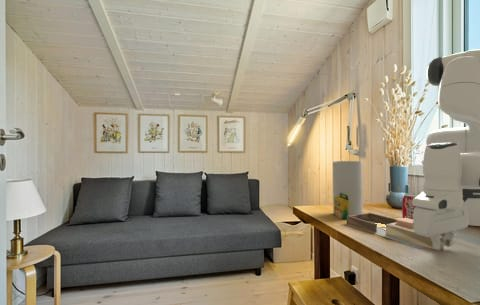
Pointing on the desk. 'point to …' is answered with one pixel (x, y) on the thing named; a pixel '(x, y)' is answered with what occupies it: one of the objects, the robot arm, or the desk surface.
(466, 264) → the desk surface
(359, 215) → the cubby
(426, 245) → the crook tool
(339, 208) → the crayon box
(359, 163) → the cylinder vase
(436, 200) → the robot arm
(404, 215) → the soda can
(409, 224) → the cube
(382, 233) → the board
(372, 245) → the desk surface
